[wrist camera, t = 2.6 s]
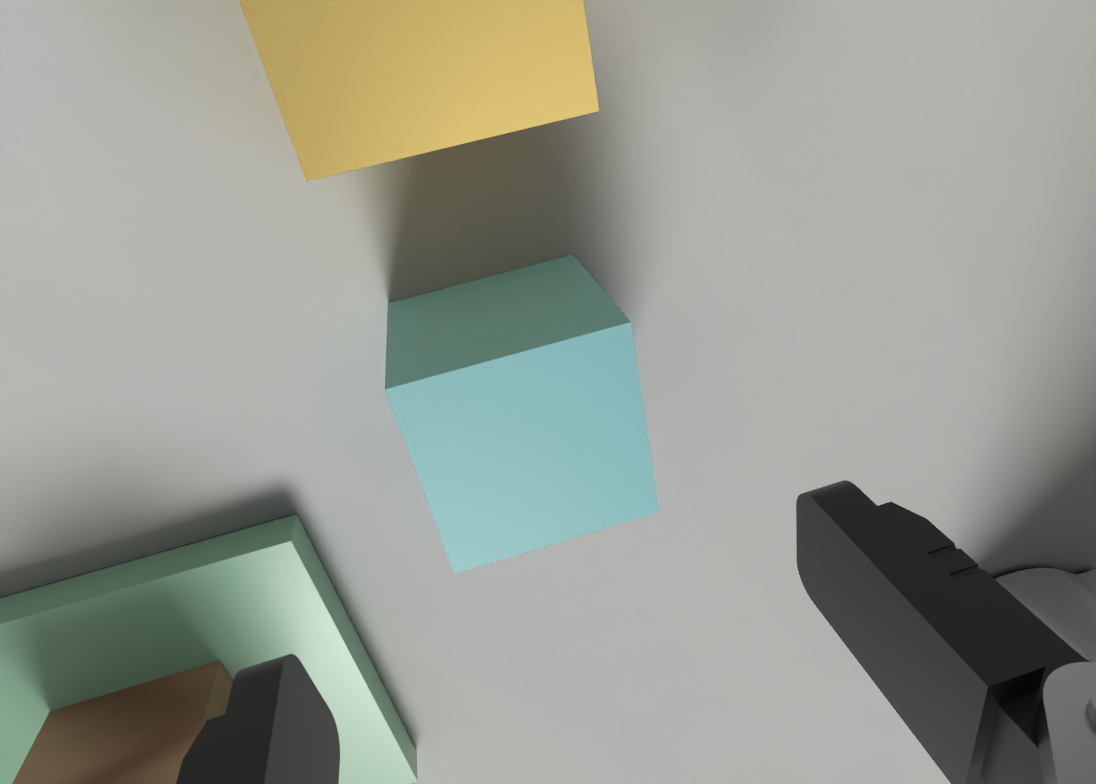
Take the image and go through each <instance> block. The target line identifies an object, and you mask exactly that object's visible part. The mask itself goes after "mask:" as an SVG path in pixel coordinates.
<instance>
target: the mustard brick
mask: <svg viewBox="0 0 1096 784" xmlns="http://www.w3.org/2000/svg"><path fill="white" fill-rule="evenodd" d="M240 3H241V6H242V9H243V11H244V14H245V17H246V19H247V22H248V25H249V27H250V30H251V33H252V36H253V38H254V41H255V44H256V46H257V49H258V52H259V54H260V57H261V60H262V62H263V65H264V68H265V71H266V73H267V76H268V79H269V81H270V84H271V87H272V89H273V92H274V95H275V98H276V100H277V103H278V106H279V108H280V111H281V114H282V116H283V119H284V122H285V124H286V127H287V130H288V133H289V135H290V138H291V141H292V143H293V146H294V149H295V151H296V154H297V157H298V160H299V162H300V165H301V168H302V170H303V173H304V176H305V178H306V181H310V180H314V179H319V178H323V177H327V176H331V175H335V174H339V173H344V172H348V171H352V170H356V169H360V168H364V167H368V166H373V165H377V164H381V163H385V162H389V161H393V160H398V159H402V158H406V157H410V156H414V155H418V154H423V153H427V152H431V151H435V150H439V149H443V148H448V147H452V146H456V145H460V144H464V143H468V142H473V141H477V140H481V139H485V138H489V137H493V136H498V135H502V134H506V133H510V132H514V131H518V130H523V129H527V128H531V127H535V126H539V125H543V124H548V123H552V122H556V121H560V120H564V119H568V118H572V117H577V116H581V115H585V114H589V113H593V112H597V111H599V106H598V99H597V92H596V85H595V78H594V71H593V64H592V57H591V50H590V43H589V36H588V29H587V22H586V16H585V9H584V2H583V0H240Z"/></svg>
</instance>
